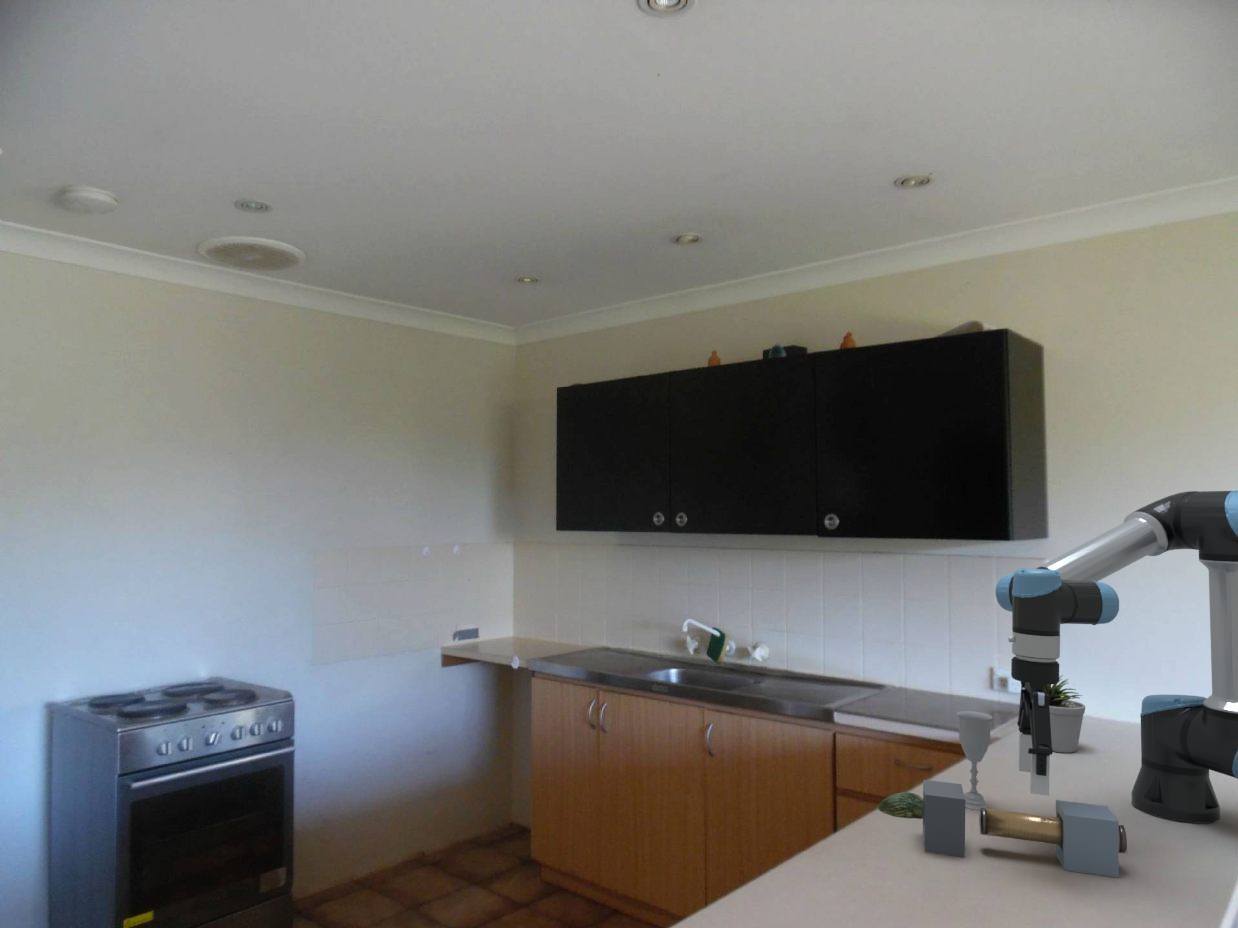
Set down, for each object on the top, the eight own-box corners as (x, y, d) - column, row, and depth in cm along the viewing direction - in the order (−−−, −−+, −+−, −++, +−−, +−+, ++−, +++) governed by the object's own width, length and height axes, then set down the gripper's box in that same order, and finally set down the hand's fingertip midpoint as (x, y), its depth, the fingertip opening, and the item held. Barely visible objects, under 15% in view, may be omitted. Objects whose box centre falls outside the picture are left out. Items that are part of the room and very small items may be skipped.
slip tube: (1120, 847, 147) (1120, 821, 147) (1126, 857, 143) (1126, 830, 143) (979, 829, 154) (979, 804, 154) (981, 837, 149) (981, 812, 150)
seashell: (903, 779, 178) (942, 794, 169) (903, 799, 177) (942, 816, 169) (866, 789, 173) (904, 805, 164) (867, 810, 173) (905, 827, 164)
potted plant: (1030, 738, 230) (1030, 662, 231) (1088, 748, 222) (1088, 669, 223) (1020, 748, 220) (1020, 668, 221) (1081, 758, 212) (1081, 676, 213)
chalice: (995, 813, 170) (996, 720, 171) (959, 809, 172) (960, 718, 173) (987, 801, 178) (988, 712, 179) (952, 797, 179) (953, 709, 180)
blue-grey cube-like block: (1106, 859, 149) (1107, 805, 149) (1118, 877, 141) (1118, 821, 142) (1055, 852, 151) (1055, 799, 152) (1064, 869, 144) (1064, 814, 144)
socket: (960, 838, 156) (961, 783, 157) (964, 857, 148) (965, 799, 148) (922, 833, 158) (923, 779, 159) (924, 851, 150) (925, 794, 150)
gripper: (1002, 646, 163) (1000, 760, 162) (1022, 667, 140) (1019, 801, 139) (1046, 649, 161) (1044, 765, 160) (1073, 671, 137) (1071, 807, 136)
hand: (1033, 782), depth 149 cm, fingers open, 13 cm apart
